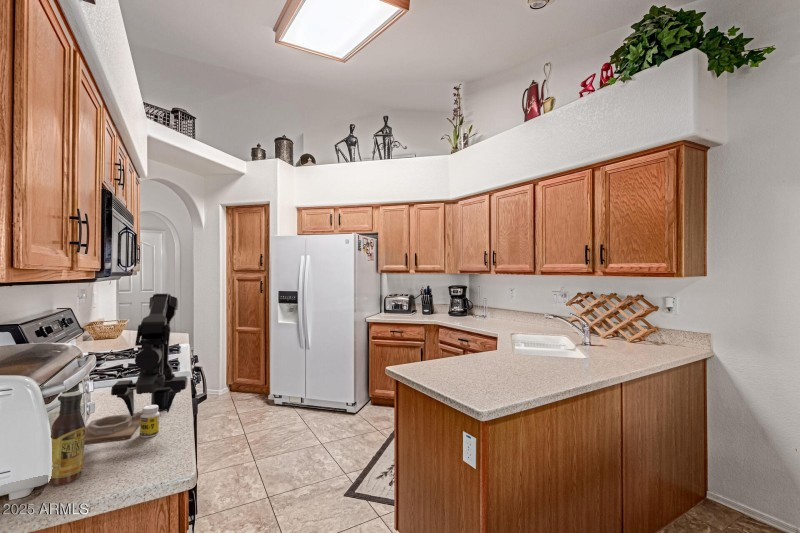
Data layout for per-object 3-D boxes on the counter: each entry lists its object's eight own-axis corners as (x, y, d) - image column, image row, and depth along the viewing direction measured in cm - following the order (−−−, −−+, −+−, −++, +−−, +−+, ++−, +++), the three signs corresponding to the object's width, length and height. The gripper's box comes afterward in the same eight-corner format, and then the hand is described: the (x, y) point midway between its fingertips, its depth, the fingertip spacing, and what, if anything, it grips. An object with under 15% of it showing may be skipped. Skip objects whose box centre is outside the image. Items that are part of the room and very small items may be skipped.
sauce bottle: (61, 488, 85) (65, 399, 86) (39, 485, 86) (43, 397, 87) (90, 474, 92) (93, 391, 92) (69, 470, 93) (73, 389, 93)
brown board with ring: (91, 424, 121) (92, 414, 121) (143, 418, 126) (144, 409, 126) (70, 445, 106) (71, 434, 106) (130, 438, 112) (130, 427, 112)
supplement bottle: (137, 438, 111) (138, 410, 111) (143, 432, 116) (144, 404, 116) (155, 437, 113) (156, 408, 113) (161, 431, 117) (162, 403, 117)
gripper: (105, 370, 104) (103, 428, 103) (183, 366, 111) (181, 419, 111) (118, 361, 114) (115, 414, 114) (188, 358, 121) (186, 407, 121)
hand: (150, 413), depth 114 cm, fingers open, 9 cm apart
